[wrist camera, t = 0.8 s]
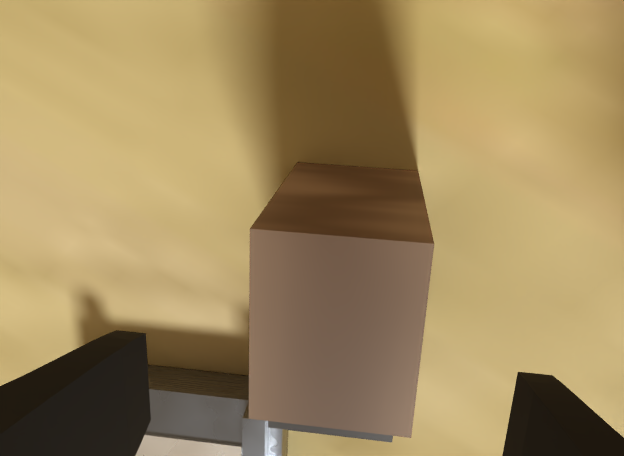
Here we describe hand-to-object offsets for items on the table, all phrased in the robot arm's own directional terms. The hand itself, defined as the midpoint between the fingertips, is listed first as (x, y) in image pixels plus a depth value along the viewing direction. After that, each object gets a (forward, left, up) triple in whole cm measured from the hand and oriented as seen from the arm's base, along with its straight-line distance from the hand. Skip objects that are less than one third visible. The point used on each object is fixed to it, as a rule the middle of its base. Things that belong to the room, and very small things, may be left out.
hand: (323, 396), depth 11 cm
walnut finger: (0, 0, -9) cm, 9 cm away
